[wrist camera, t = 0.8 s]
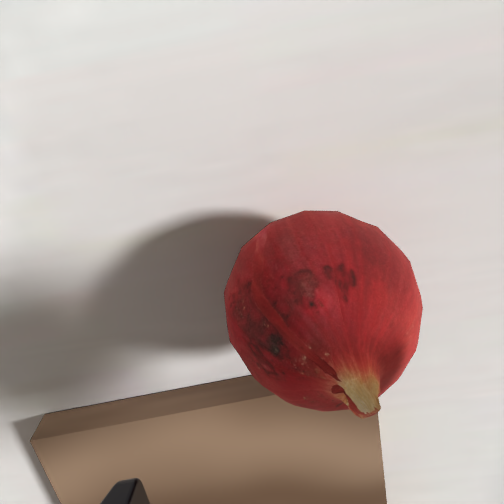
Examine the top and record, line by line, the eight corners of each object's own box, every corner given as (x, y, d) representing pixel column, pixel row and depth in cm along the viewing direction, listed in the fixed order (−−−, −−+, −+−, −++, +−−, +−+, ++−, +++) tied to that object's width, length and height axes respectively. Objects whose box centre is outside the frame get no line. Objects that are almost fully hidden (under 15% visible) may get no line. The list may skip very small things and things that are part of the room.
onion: (205, 301, 17) (187, 467, 10) (257, 164, 15) (285, 239, 8) (337, 341, 18) (413, 520, 11) (400, 217, 16) (546, 329, 9)
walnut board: (383, 541, 23) (393, 571, 21) (125, 588, 23) (118, 620, 22) (362, 354, 18) (373, 376, 17) (44, 414, 19) (29, 441, 17)
